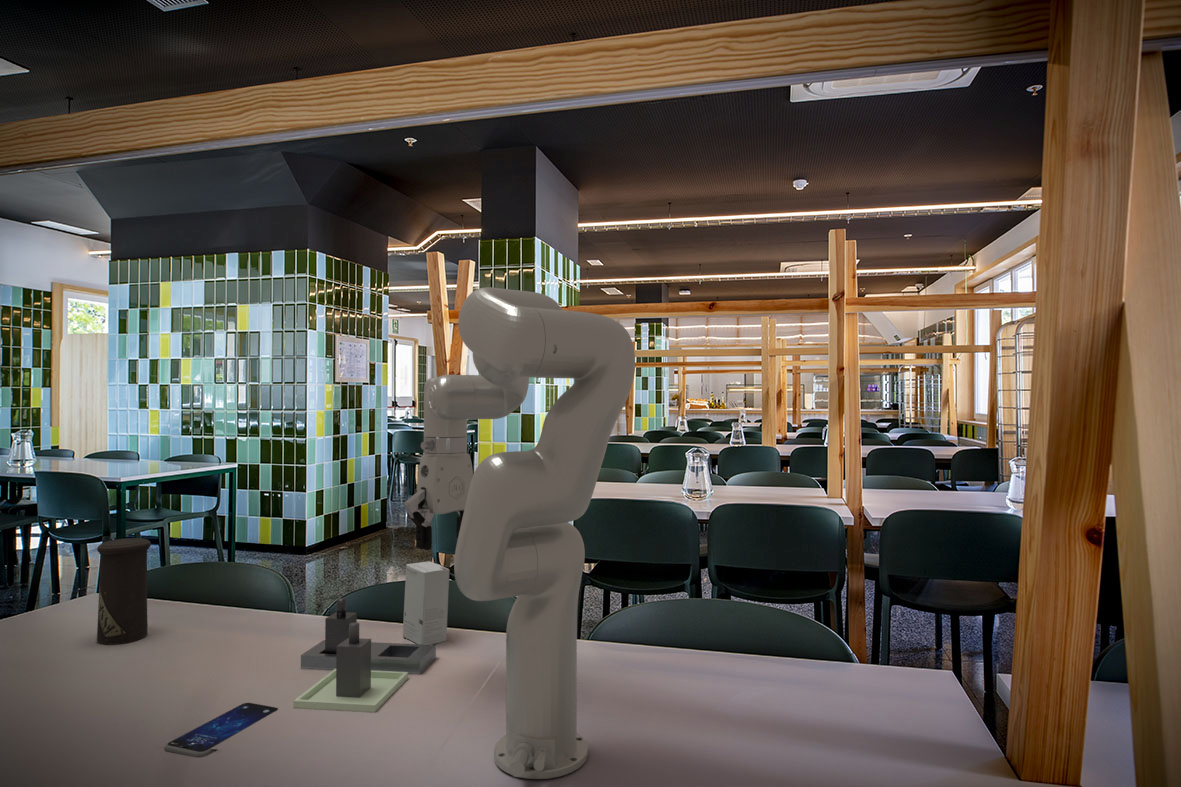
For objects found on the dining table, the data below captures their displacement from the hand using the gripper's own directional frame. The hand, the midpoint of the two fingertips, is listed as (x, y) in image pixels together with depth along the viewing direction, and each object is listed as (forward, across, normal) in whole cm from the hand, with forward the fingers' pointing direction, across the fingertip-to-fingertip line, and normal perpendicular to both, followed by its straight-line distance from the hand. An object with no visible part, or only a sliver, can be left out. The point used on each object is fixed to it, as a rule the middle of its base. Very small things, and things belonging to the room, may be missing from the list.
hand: (444, 544), depth 121 cm
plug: (+22, -15, +5) cm, 27 cm away
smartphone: (+23, -33, +11) cm, 42 cm away
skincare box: (+23, +11, +16) cm, 30 cm away
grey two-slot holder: (+23, -5, +14) cm, 27 cm away
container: (+23, -23, +67) cm, 75 cm away
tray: (+23, -15, +5) cm, 28 cm away
